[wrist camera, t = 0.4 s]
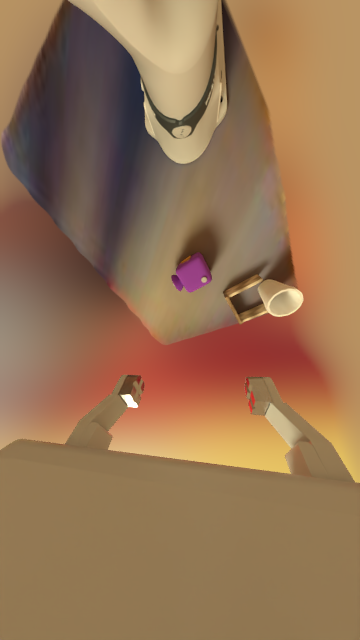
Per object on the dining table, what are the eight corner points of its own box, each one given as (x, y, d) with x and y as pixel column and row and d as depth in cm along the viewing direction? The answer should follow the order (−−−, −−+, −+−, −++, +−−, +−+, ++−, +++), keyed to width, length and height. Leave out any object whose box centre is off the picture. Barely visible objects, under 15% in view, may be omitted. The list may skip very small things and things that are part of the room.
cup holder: (256, 274, 49) (262, 278, 44) (268, 303, 55) (274, 310, 50) (223, 292, 54) (225, 298, 50) (236, 317, 60) (239, 324, 55)
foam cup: (269, 302, 54) (285, 320, 44) (248, 294, 54) (260, 310, 43) (287, 280, 49) (311, 295, 38) (264, 271, 48) (283, 283, 38)
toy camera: (168, 273, 53) (163, 281, 44) (195, 245, 46) (194, 250, 38) (187, 292, 56) (185, 303, 48) (214, 270, 50) (217, 278, 42)
